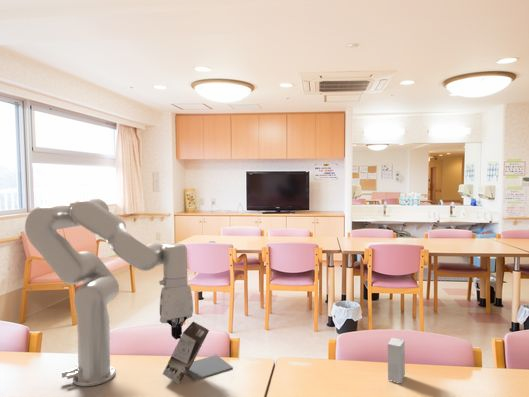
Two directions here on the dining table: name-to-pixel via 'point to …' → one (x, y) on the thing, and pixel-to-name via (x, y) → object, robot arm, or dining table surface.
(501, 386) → the dining table surface
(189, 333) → the coffee box
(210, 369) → the mat
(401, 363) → the skincare box
